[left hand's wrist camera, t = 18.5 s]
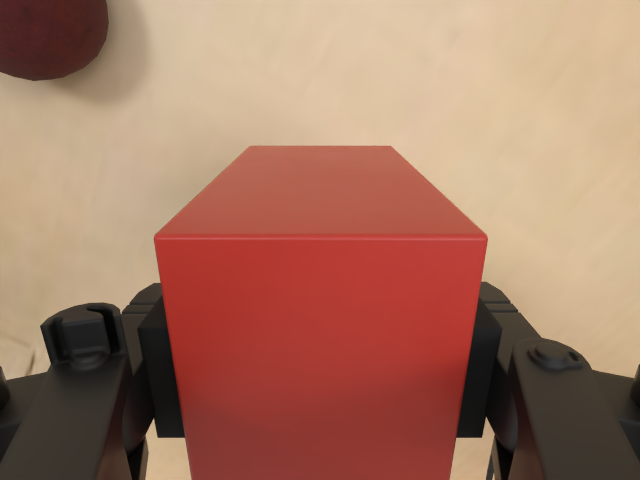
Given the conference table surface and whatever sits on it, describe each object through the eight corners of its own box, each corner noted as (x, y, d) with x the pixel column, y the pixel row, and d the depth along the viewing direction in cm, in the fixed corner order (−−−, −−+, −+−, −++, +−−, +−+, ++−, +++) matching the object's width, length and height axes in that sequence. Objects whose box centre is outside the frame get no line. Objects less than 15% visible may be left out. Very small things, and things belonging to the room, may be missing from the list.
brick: (381, 304, 18) (443, 528, 9) (258, 304, 18) (198, 528, 9) (391, 145, 15) (490, 234, 6) (248, 145, 15) (150, 234, 6)
